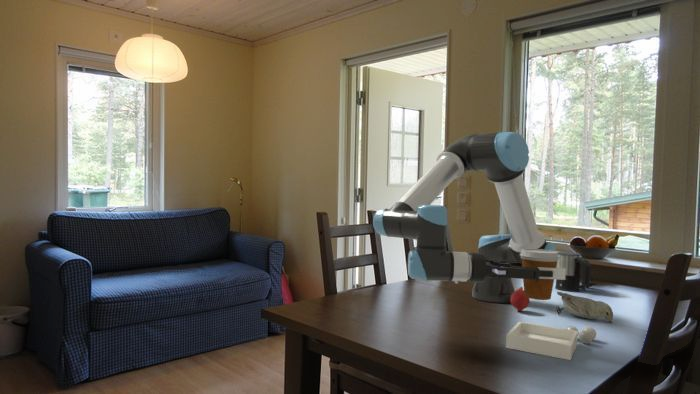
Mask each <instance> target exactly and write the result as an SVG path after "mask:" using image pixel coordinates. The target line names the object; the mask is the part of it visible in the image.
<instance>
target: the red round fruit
mask: <svg viewBox="0 0 700 394" xmlns="http://www.w3.org/2000/svg"><path fill="white" fill-rule="evenodd" d="M530 299H531V298H527V297H525V296H524V286H519V287H518V288H517V289H516V290H515V291H514V292H513V294H512V295H511V302H510V303H511V305H512V307H513V308H514V309H515V310H517V311H518V312H522V311H523V310H525V309H526V308H527V307H528V306H529V305H530V302H531V301H530Z"/></svg>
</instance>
